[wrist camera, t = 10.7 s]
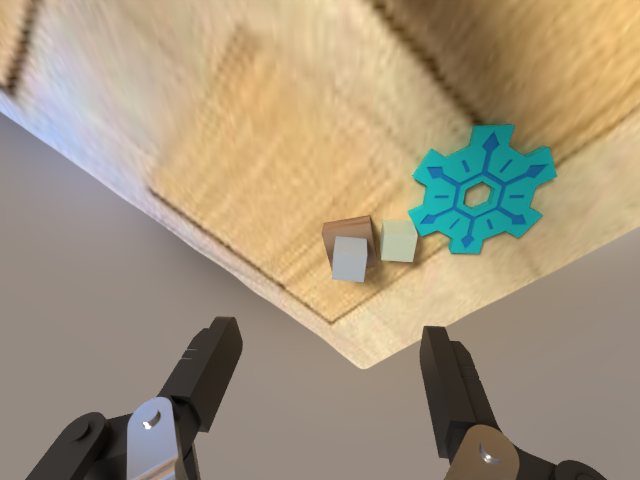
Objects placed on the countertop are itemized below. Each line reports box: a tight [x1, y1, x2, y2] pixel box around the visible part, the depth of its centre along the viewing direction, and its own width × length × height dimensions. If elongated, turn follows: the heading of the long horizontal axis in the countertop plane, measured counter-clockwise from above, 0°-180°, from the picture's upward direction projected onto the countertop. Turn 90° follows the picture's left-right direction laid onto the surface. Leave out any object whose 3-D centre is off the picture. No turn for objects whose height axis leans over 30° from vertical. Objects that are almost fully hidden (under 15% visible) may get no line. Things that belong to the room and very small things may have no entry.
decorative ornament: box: [408, 124, 557, 253], centre depth 44 cm, size 20×2×20 cm
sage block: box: [380, 219, 418, 262], centre depth 47 cm, size 5×5×5 cm
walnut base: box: [322, 215, 378, 270], centre depth 49 cm, size 8×8×4 cm
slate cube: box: [332, 236, 367, 282], centre depth 46 cm, size 5×5×5 cm
